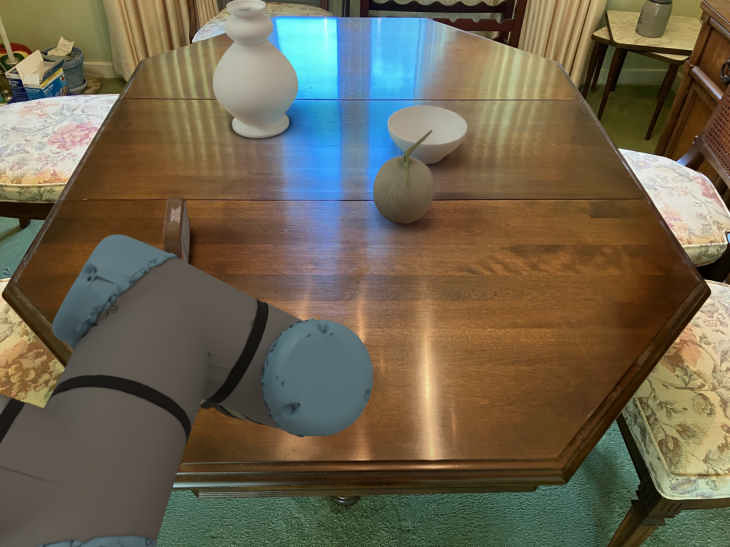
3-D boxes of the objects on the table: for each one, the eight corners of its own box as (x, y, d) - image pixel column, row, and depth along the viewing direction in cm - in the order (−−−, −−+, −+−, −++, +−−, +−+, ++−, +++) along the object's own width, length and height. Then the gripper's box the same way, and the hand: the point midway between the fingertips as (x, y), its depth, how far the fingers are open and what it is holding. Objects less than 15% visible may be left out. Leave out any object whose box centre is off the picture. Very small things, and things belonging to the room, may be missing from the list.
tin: (176, 227, 96) (164, 186, 90) (194, 225, 96) (184, 185, 90) (169, 287, 85) (156, 245, 79) (190, 285, 85) (179, 243, 80)
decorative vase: (296, 145, 116) (286, 22, 99) (212, 143, 116) (188, 20, 99) (304, 106, 129) (297, -9, 112) (229, 104, 129) (210, -11, 112)
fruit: (372, 238, 94) (374, 162, 84) (372, 198, 103) (374, 125, 93) (433, 239, 94) (443, 163, 84) (428, 199, 103) (436, 127, 93)
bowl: (396, 179, 108) (398, 147, 103) (378, 138, 119) (379, 108, 114) (473, 172, 110) (479, 140, 105) (449, 132, 121) (453, 102, 117)
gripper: (210, 460, 45) (163, 433, 65) (334, 372, 51) (255, 372, 72) (163, 381, 44) (130, 378, 64) (295, 302, 51) (227, 322, 71)
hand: (196, 375), depth 68 cm, fingers closed
